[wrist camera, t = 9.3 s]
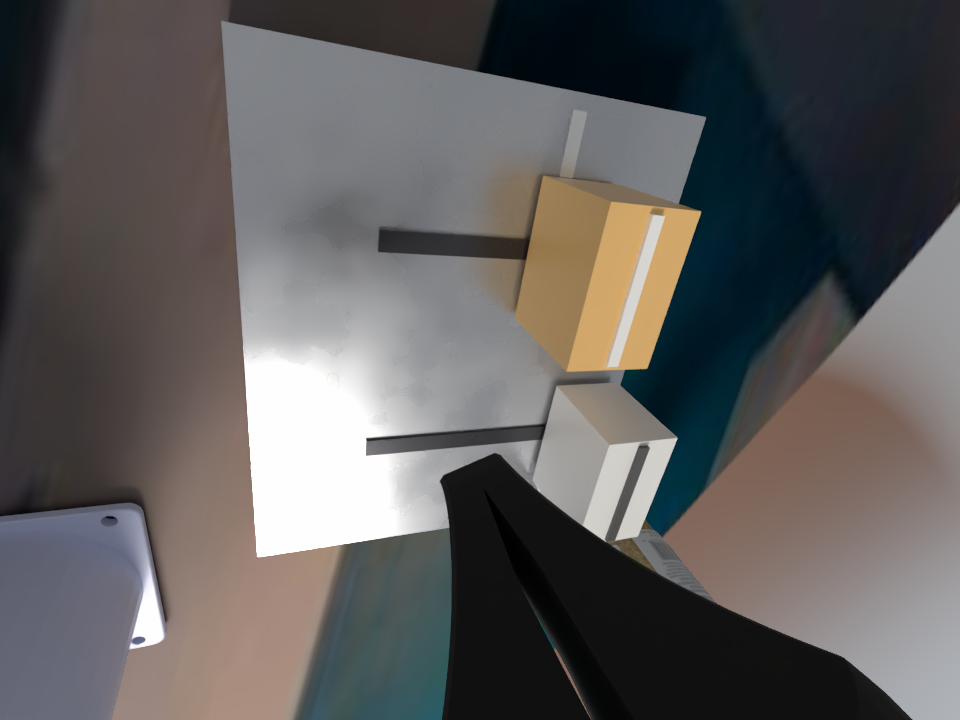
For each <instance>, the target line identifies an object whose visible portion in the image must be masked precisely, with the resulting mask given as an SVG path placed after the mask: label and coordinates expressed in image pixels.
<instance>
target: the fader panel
mask: <svg viewBox="0 0 960 720" xmlns="http://www.w3.org/2000/svg"><path fill="white" fill-rule="evenodd" d="M221 24H222V39H223V54H224V69H225V83H226V98H227V113H228V128H229V143H230V157H231V172H232V187H233V202H234V217H235V231H236V246H237V261H238V276H239V291H240V305H241V320H242V335H243V350H244V365H245V379H246V394H247V409H248V424H249V439H250V453H251V468H252V483H253V498H254V513H255V527H256V542H257V557H262V556H268V555H275V554H281V553H288V552H294V551H301V550H307V549H314V548H320V547H327V546H333V545H340V544H346V543H352V542H359V541H365V540H372V539H378V538H385V537H391V536H398V535H404V534H411V533H417V532H424V531H430V530H437V529H443V528H449V520H448V512H447V506H446V501H445V496H444V492H443V488H442V486H441V483H440V480H441V478H442V477H443V475H445V474H447V473H449V472H452V471H454V470H456V469H459V468H461V467H463V466H465V465H468V464H470V463H472V462H475V461H477V460H479V459H482V458H484V457H486V456H489V455H491V454H493V453H497V454H500V455H501V456H502V457H503V458H504V459H505V460H506V461H507V462H508V463H509V464H510V466H511V467H512V468H513V469H514V470H516V471H517V472H518V473H519V474H520V475H521V476H522V477H523V478H524V479H525V480H526V481H527V482H528V483H530V484H531V485H532V486H533V487H534V488H535V489H536V490H538V488H537V486H536V485H535V483H534V482H533V476H534V472H535V468H536V464H537V460H538V456H539V452H540V448H541V444H542V440H543V437H544V433H545V429H546V425H547V421H548V417H549V413H550V409H551V405H552V401H553V397H554V393H555V390H556V386H560V385H580V384H600V383H618V384H619V385H620V384H621V381H622V378H623V374H624V371H625V370H601V371H576V372H566V371H565V370H564V369H563V368H562V367H561V366H560V365H559V364H558V363H557V361H556V360H555V359H554V358H553V357H552V356H551V355H550V354H549V353H548V352H547V351H546V350H545V349H544V348H543V347H542V346H541V345H540V344H539V343H538V342H537V341H536V340H535V339H534V338H533V337H532V336H531V335H530V334H529V333H528V332H527V330H526V329H525V328H524V327H523V326H522V325H521V324H520V323H519V322H518V321H517V320H516V319H515V314H516V309H517V304H518V299H519V294H520V289H521V284H522V279H523V274H524V269H525V264H526V259H527V254H528V249H529V244H530V239H531V234H532V229H533V224H534V218H535V213H536V208H537V203H538V198H539V193H540V188H541V183H542V178H543V175H545V176H553V177H561V178H569V179H577V180H585V181H593V182H601V183H609V184H617V185H622V186H625V187H628V188H631V189H635V190H638V191H641V192H644V193H647V194H650V195H653V196H656V197H659V198H662V199H665V200H668V201H671V202H674V203H677V204H678V203H679V200H680V197H681V194H682V191H683V188H684V185H685V182H686V179H687V175H688V172H689V169H690V166H691V163H692V160H693V157H694V154H695V151H696V147H697V144H698V141H699V138H700V135H701V132H702V129H703V126H704V123H705V119H706V117H702V116H697V115H692V114H687V113H682V112H677V111H672V110H667V109H662V108H657V107H652V106H647V105H642V104H637V103H632V102H627V101H622V100H617V99H612V98H607V97H602V96H597V95H592V94H587V93H582V92H577V91H572V90H567V89H561V88H556V87H551V86H546V85H541V84H536V83H531V82H526V81H521V80H516V79H511V78H506V77H501V76H496V75H491V74H486V73H481V72H476V71H471V70H466V69H461V68H456V67H451V66H446V65H441V64H436V63H431V62H426V61H420V60H415V59H410V58H405V57H400V56H395V55H390V54H385V53H380V52H375V51H370V50H365V49H360V48H355V47H350V46H345V45H340V44H335V43H330V42H325V41H320V40H315V39H310V38H305V37H300V36H295V35H290V34H285V33H279V32H274V31H269V30H264V29H259V28H254V27H249V26H244V25H239V24H234V23H229V22H224V21H221ZM538 491H539V490H538ZM539 492H540V491H539Z"/></svg>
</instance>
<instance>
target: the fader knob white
mask: <svg viewBox="0 0 960 720" xmlns="http://www.w3.org/2000/svg"><path fill="white" fill-rule="evenodd" d="M676 441H677V437H676V436H675V435H674V434H673V433H672V432H671V431H670V430H668V429H667V428H666V427H665V426H664V425H663V424H662V423H661V422H660V421H659V420H658V419H656V418H655V417H654V416H653V415H652V414H651V413H650V412H649V411H648V410H647V409H645V408H644V407H643V406H642V405H641V404H640V403H639V402H638V401H637V400H636V399H634V398H633V397H632V396H631V395H630V394H629V393H628V392H627V391H626V390H625V389H624V388H622V387H621V386H620V385H619V384H618V383H600V384H580V385H560V386H556V390H555V393H554V397H553V401H552V405H551V409H550V413H549V417H548V421H547V425H546V429H545V433H544V437H543V440H542V444H541V448H540V452H539V456H538V460H537V464H536V468H535V472H534V476H533V482H534V483H535V485H536V486H537V488H538V490H539V491H540V493H541V494H542V495H543V496H545V497H546V498H547V499H548V500H550V501H551V502H552V503H553V504H555V505H556V506H557V507H559V508H560V509H561V510H562V511H564V512H565V513H566V514H567V515H569V516H570V517H571V518H573V519H574V520H575V521H577V522H578V523H579V524H581V525H582V526H584V527H585V528H587V529H588V530H589V531H591V532H592V533H594V534H595V535H597V536H598V537H599V538H601V539H602V540H604V541H605V542H611V541H616V540H622V539H627V538H632V537H638V535H639V533H640V530H641V528H642V525H643V523H644V520H645V518H646V515H647V513H648V510H649V508H650V505H651V503H652V500H653V498H654V495H655V493H656V490H657V488H658V486H659V483H660V481H661V478H662V476H663V473H664V471H665V468H666V466H667V463H668V461H669V458H670V456H671V453H672V451H673V448H674V446H675V443H676Z"/></svg>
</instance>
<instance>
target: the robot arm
mask: <svg viewBox="0 0 960 720" xmlns="http://www.w3.org/2000/svg"><path fill="white" fill-rule="evenodd" d="M440 483H441V486H442V488H443V492H444V496H445V501H446V506H447V512H448V520H449V529H450V544H451V560H452V613H451V634H450V648H449V662H448V672H447V681H446V691H445V700H444V708H443V716H442V720H912V719H911V718H910V717H909V716H908V715H907V714H906V713H905V712H904V711H903V710H902V709H901V708H900V707H899V706H898V705H897V704H896V703H895V702H894V701H893V700H892V699H891V698H890V697H889V696H888V695H887V694H886V693H885V692H884V691H883V690H882V689H880V688H879V687H878V686H877V685H876V684H875V683H873V682H872V681H871V680H870V679H869V678H868V677H866V676H865V675H864V674H863V673H862V672H860V671H859V670H858V669H857V668H856V667H854V666H853V665H852V664H851V663H850V662H848V661H847V660H846V659H845V658H843V657H841V656H839V655H836V654H833V653H831V652H828V651H826V650H823V649H821V648H818V647H815V646H813V645H810V644H808V643H805V642H802V641H800V640H797V639H795V638H793V637H790V636H788V635H785V634H783V633H781V632H778V631H776V630H773V629H771V628H768V627H766V626H764V625H762V624H759V623H757V622H755V621H753V620H750V619H748V618H746V617H743V616H741V615H739V614H737V613H735V612H732V611H730V610H728V609H726V608H724V607H722V606H720V605H718V604H716V603H714V602H712V601H710V600H708V599H706V598H704V597H702V596H700V595H698V594H696V593H694V592H692V591H690V590H688V589H686V588H684V587H682V586H680V585H678V584H676V583H674V582H672V581H670V580H669V579H667V578H665V577H663V576H662V575H660V574H658V573H656V572H654V571H653V570H651V569H649V568H647V567H646V566H644V565H642V564H641V563H639V562H637V561H636V560H634V559H632V558H631V557H629V556H627V555H626V554H624V553H622V552H621V551H619V550H618V549H616V548H615V547H613V546H611V545H610V544H608V543H607V542H605V541H604V540H602V539H601V538H599V537H598V536H597V535H595V534H594V533H592V532H591V531H589V530H588V529H587V528H585V527H584V526H582V525H581V524H579V523H578V522H577V521H575V520H574V519H573V518H571V517H570V516H569V515H567V514H566V513H565V512H564V511H562V510H561V509H560V508H559V507H557V506H556V505H555V504H553V503H552V502H551V501H550V500H548V499H547V498H546V497H545V496H543V495H542V494H541V493H540V492H539V491H538V490H536V489H535V488H534V487H533V486H532V485H531V484H530V483H528V482H527V481H526V480H525V479H524V478H523V477H522V476H521V475H520V474H519V473H518V472H517V471H516V470H514V469H513V468H512V467H511V466H510V464H509V463H508V462H507V461H506V460H505V459H504V458H503V457H502V456H501V455H500V454H497V453H493V454H491V455H489V456H486V457H484V458H482V459H479V460H477V461H475V462H472V463H470V464H468V465H465V466H463V467H461V468H459V469H456V470H454V471H452V472H449V473H447V474H445V475H443V477H442V478H441V480H440ZM106 516H113V517H115V519H108V518H106ZM530 604H531V605H530ZM531 606H532V607H531ZM532 608H533V609H532ZM533 610H534V611H535V613H536V615H537V617H538V618H539V620H540V622H541V623H542V625H543V627H544V629H545V630H546V632H547V634H548V636H549V637H550V639H551V641H552V643H553V644H554V646H555V648H556V649H557V651H558V653H559V655H560V656H561V658H562V660H563V662H564V664H565V666H566V668H567V670H568V671H569V673H570V675H571V677H572V679H573V682H574V683H575V686H576V688H577V690H578V692H579V694H580V696H581V698H582V701H583V702H584V705H585V707H586V709H587V711H588V713H589V715H590V717H591V719H590V717H589V715H588V714H587V712H586V710H585V708H584V706H583V705H582V702H581V701H580V699H579V697H578V695H577V693H576V691H575V689H574V688H573V686H572V684H571V682H570V680H569V678H568V676H567V674H566V672H565V671H564V669H563V667H562V665H561V663H560V661H559V659H558V657H557V655H556V653H555V651H554V650H553V648H552V646H551V644H550V642H549V640H548V638H547V636H546V634H545V632H544V630H543V628H542V627H541V625H540V623H539V621H538V619H537V617H536V615H535V613H534V611H533ZM166 629H167V628H166V623H165V618H164V613H163V608H162V603H161V598H160V593H159V588H158V583H157V578H156V573H155V568H154V563H153V558H152V553H151V548H150V543H149V538H148V533H147V528H146V523H145V518H144V513H143V510H142V508H141V507H140V506H138V505H137V504H133V503H120V504H111V505H101V506H92V507H83V508H74V509H65V510H55V511H46V512H37V513H28V514H19V515H9V516H0V720H111V719H112V715H113V711H114V707H115V703H116V699H117V695H118V691H119V687H120V684H121V680H122V676H123V672H124V668H125V664H126V660H127V656H128V652H129V649H133V648H138V647H143V646H148V645H153V644H156V643H159V642H160V641H162V640H163V639H164V638H165V635H166Z"/></svg>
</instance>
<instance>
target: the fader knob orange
mask: <svg viewBox="0 0 960 720" xmlns="http://www.w3.org/2000/svg"><path fill="white" fill-rule="evenodd" d="M700 214H701V211H699V210H696V209H692V208H689V207H686V206H683V205H680V204H677V203H674V202H671V201H668V200H665V199H662V198H659V197H656V196H653V195H650V194H647V193H644V192H641V191H638V190H635V189H631V188H628V187H625V186H622V185H617V184H609V183H601V182H593V181H585V180H577V179H569V178H561V177H553V176H545V175H543V178H542V183H541V188H540V193H539V198H538V203H537V208H536V213H535V218H534V224H533V229H532V234H531V239H530V244H529V249H528V254H527V259H526V264H525V269H524V274H523V279H522V284H521V289H520V294H519V299H518V304H517V309H516V314H515V319H516V320H517V321H518V322H519V323H520V324H521V325H522V326H523V327H524V328H525V329H526V330H527V332H528V333H529V334H530V335H531V336H532V337H533V338H534V339H535V340H536V341H537V342H538V343H539V344H540V345H541V346H542V347H543V348H544V349H545V350H546V351H547V352H548V353H549V354H550V355H551V356H552V357H553V358H554V359H555V360H556V361H557V363H558V364H559V365H560V366H561V367H562V368H563V369H564V370H565V371H566V372H576V371H601V370H627V369H647V368H648V365H649V362H650V359H651V356H652V353H653V351H654V348H655V345H656V342H657V339H658V336H659V333H660V330H661V327H662V324H663V321H664V319H665V316H666V313H667V310H668V307H669V304H670V301H671V298H672V295H673V292H674V289H675V287H676V284H677V281H678V278H679V275H680V272H681V269H682V266H683V263H684V260H685V257H686V255H687V252H688V249H689V246H690V243H691V240H692V237H693V234H694V231H695V228H696V226H697V223H698V220H699V217H700Z"/></svg>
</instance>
